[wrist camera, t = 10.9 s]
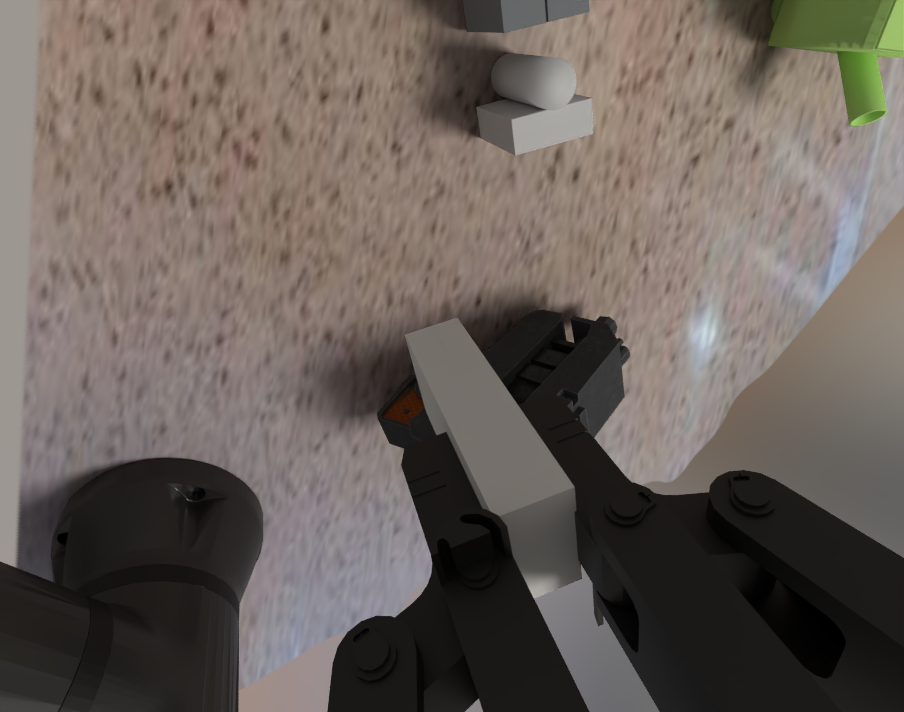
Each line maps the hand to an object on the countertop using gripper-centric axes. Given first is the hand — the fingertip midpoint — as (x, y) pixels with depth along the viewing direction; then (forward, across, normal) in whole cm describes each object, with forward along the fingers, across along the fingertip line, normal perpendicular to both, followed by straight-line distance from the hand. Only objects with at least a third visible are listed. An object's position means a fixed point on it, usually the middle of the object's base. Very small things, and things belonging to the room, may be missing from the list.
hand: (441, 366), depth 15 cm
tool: (+25, +8, -18) cm, 32 cm away
